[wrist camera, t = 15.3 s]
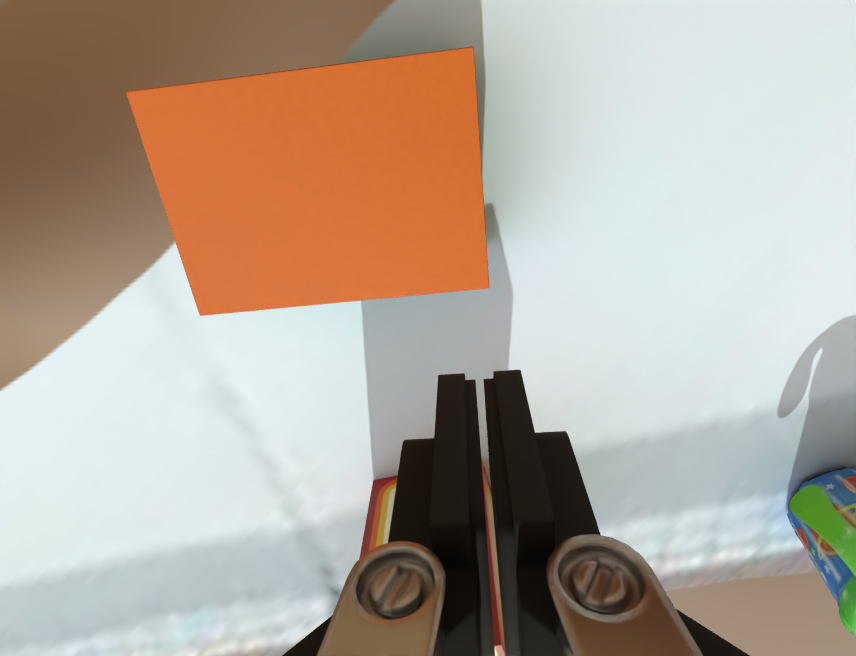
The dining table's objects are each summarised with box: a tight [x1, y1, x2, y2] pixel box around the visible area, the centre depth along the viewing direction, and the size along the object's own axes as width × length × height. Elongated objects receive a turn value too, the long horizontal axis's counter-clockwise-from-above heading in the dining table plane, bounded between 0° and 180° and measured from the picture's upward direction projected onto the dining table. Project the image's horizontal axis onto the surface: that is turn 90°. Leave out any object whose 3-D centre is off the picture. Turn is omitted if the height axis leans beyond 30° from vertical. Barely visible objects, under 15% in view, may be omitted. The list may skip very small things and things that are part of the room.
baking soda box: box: [359, 460, 506, 656], centre depth 37 cm, size 10×6×16 cm
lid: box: [127, 47, 489, 316], centre depth 26 cm, size 16×12×1 cm
